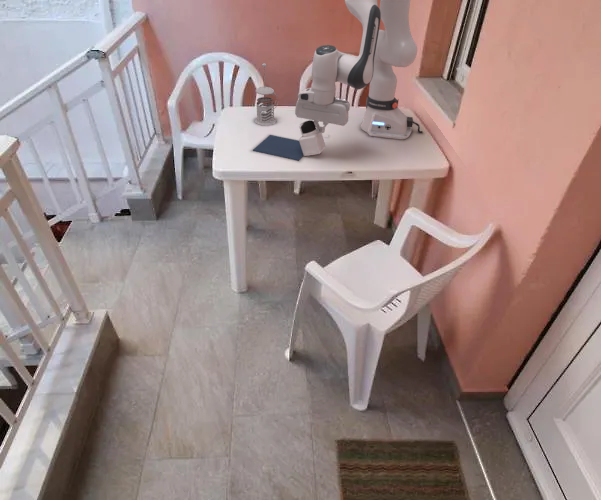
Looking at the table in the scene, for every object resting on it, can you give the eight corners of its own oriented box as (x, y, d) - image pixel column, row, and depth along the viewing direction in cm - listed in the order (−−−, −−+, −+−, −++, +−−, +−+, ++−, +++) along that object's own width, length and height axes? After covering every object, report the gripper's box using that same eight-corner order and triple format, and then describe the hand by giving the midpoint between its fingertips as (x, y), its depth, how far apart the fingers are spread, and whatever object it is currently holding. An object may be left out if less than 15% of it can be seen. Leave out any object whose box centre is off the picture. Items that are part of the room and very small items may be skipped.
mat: (313, 144, 172) (313, 143, 172) (298, 160, 160) (298, 159, 160) (270, 135, 177) (270, 134, 177) (252, 150, 166) (252, 149, 166)
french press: (250, 119, 190) (247, 62, 174) (271, 114, 195) (270, 58, 180) (262, 127, 184) (260, 68, 168) (283, 121, 189) (283, 63, 174)
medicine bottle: (325, 146, 165) (317, 117, 159) (320, 153, 160) (311, 124, 154) (309, 149, 168) (301, 120, 162) (303, 156, 163) (294, 127, 157)
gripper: (352, 97, 149) (348, 133, 158) (300, 88, 154) (299, 124, 163) (347, 103, 144) (343, 140, 153) (293, 93, 150) (293, 130, 159)
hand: (320, 131), depth 158 cm, fingers closed
